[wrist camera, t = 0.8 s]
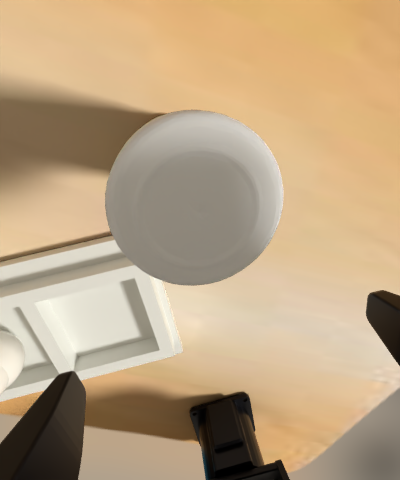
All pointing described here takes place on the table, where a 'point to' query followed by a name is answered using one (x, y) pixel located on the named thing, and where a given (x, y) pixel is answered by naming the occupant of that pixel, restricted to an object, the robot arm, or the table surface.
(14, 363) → the egg
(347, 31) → the table surface
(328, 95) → the table surface
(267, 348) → the table surface
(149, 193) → the sprinkles bottle
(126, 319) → the tray
